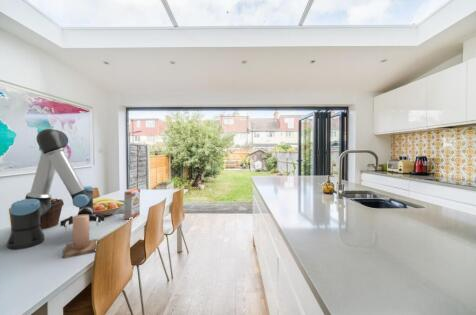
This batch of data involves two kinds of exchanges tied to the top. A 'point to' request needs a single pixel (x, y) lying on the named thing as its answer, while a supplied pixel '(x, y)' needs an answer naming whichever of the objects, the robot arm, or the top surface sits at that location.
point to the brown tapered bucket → (52, 214)
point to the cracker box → (131, 203)
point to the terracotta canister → (80, 231)
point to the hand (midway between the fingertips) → (82, 225)
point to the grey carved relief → (120, 211)
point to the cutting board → (74, 252)
